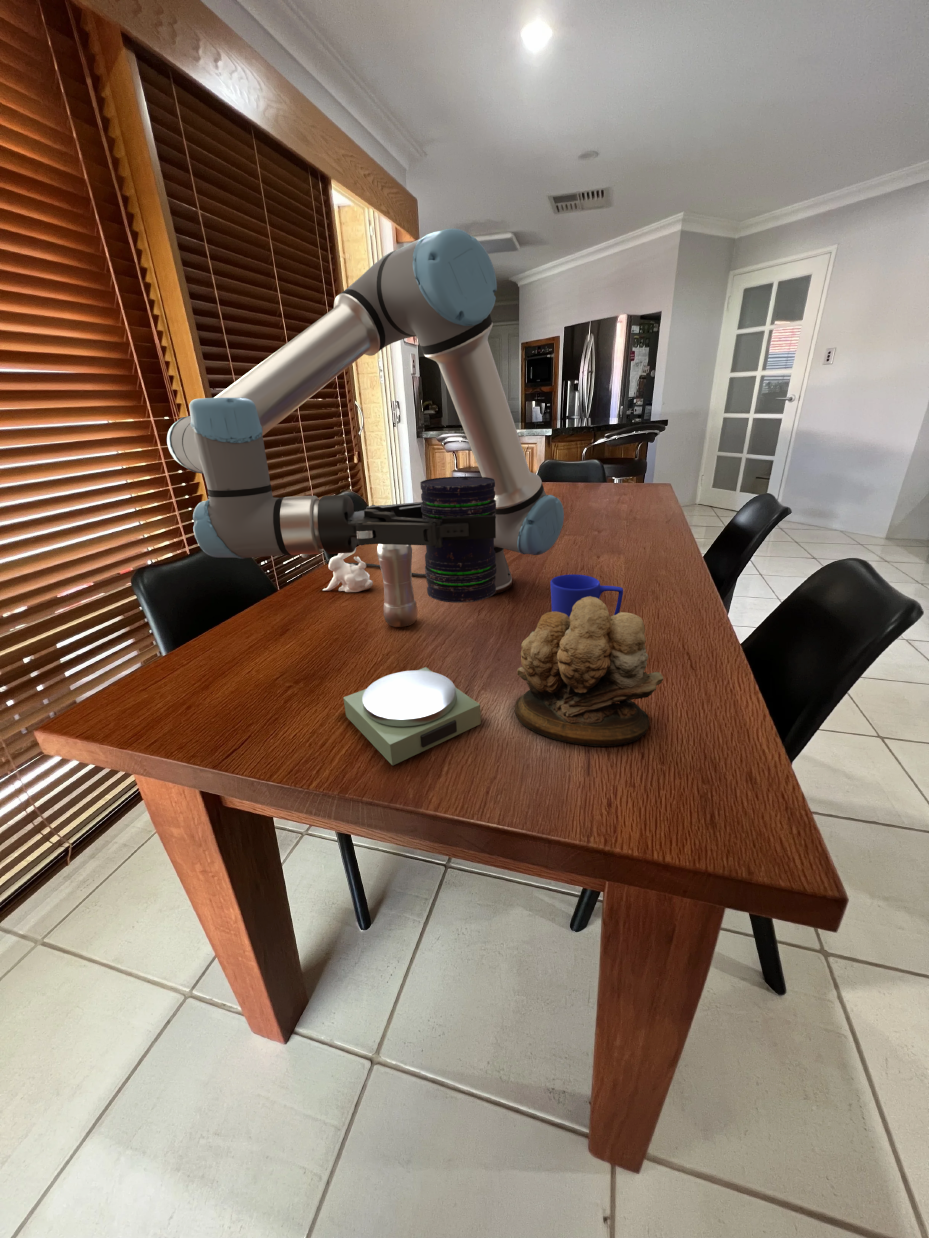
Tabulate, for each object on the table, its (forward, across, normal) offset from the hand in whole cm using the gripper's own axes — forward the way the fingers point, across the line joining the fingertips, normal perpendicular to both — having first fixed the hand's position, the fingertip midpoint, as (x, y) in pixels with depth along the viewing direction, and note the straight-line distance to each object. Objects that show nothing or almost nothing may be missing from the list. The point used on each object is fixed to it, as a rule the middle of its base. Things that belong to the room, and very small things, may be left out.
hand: (491, 518), depth 66 cm
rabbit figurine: (-29, -46, -24) cm, 59 cm away
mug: (+17, -13, -24) cm, 32 cm away
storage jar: (-4, 0, -10) cm, 11 cm away
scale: (-12, +10, -24) cm, 29 cm away
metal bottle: (-16, -22, -24) cm, 37 cm away
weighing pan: (-12, +10, -21) cm, 26 cm away
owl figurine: (+10, +12, -24) cm, 29 cm away
